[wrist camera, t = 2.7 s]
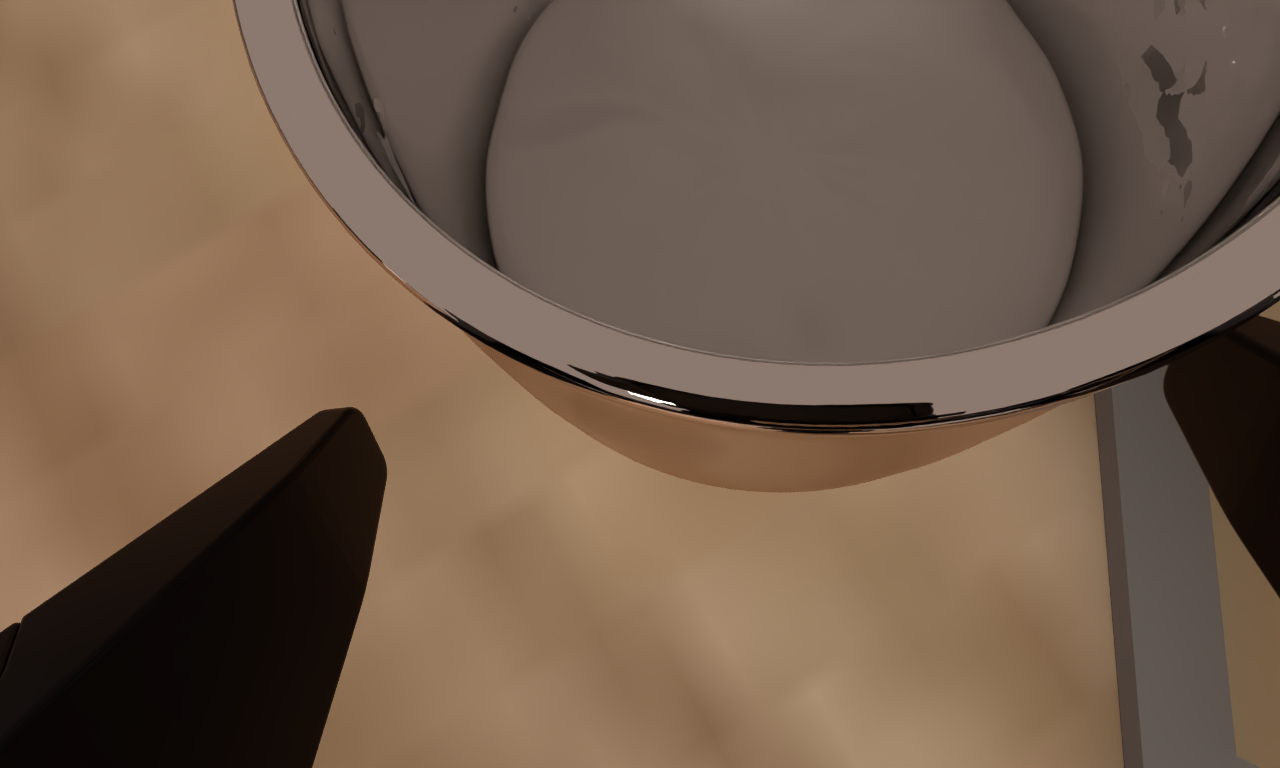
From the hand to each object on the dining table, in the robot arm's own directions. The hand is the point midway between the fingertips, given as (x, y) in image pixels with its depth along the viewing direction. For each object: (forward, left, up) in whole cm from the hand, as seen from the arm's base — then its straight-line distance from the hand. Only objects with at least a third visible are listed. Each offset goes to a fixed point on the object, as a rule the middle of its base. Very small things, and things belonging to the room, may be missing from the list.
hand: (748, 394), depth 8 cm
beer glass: (+2, 0, -10) cm, 11 cm away
